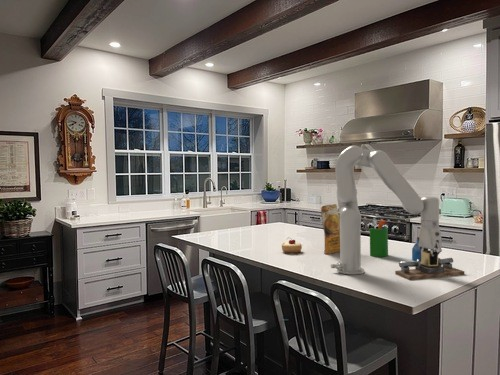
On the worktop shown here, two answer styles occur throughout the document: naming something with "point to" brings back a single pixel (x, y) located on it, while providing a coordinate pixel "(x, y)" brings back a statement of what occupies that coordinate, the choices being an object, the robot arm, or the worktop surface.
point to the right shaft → (445, 262)
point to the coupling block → (427, 258)
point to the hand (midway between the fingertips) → (429, 262)
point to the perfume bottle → (416, 251)
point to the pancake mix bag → (331, 228)
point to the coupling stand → (429, 272)
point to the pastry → (291, 247)
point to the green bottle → (379, 241)
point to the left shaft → (409, 265)
